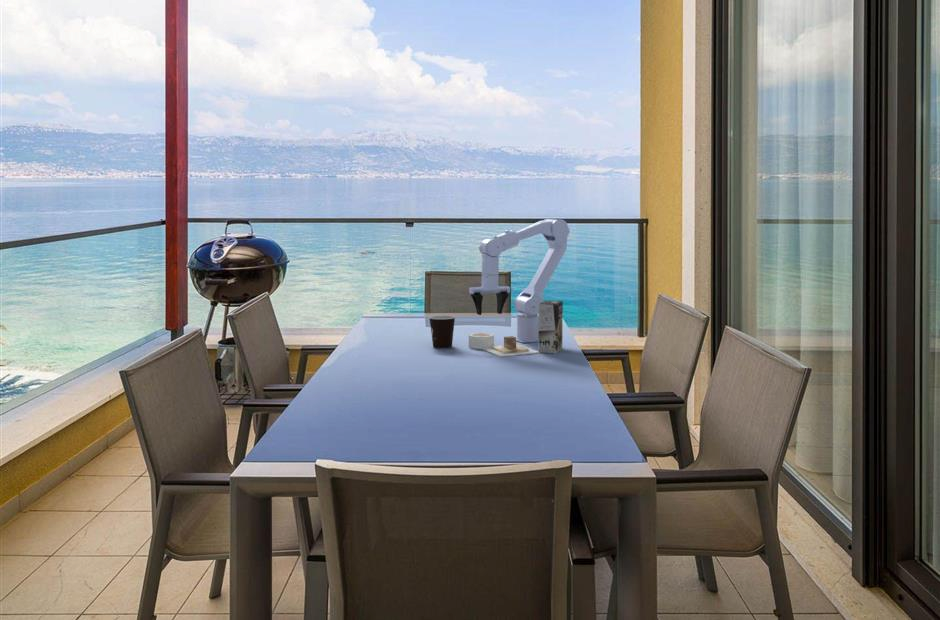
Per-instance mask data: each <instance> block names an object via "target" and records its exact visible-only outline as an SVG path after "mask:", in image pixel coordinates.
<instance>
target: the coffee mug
mask: <svg viewBox="0 0 940 620" xmlns="http://www.w3.org/2000/svg"><path fill="white" fill-rule="evenodd" d="M428 317H429V324H430V325H429V326H430V334H431V340H432V341H431V342H432V347H433V348H434V349H449V348H452V347H453V341H454V340H453V339H454V329H455V321H456V320H455V319H456V317H455V316H453V315H441V314H440V315H432V316H428Z"/></svg>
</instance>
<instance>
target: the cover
mask: <svg viewBox="0 0 940 620" xmlns="http://www.w3.org/2000/svg"><path fill="white" fill-rule="evenodd" d="M516 338H517V336H513V335H510V336H503V345H494V346H493V347H492V349H493V350H496V351H498V352H501V353H503V354H507V353H517V352H528V351H529V349H530V348H529V349H527V348H528V347H527V348H525V347H526V346H524V347H522V346H523V345H521V346H519V345H520V344H517V341H516Z"/></svg>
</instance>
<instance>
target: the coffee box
mask: <svg viewBox="0 0 940 620" xmlns="http://www.w3.org/2000/svg"><path fill="white" fill-rule="evenodd" d="M563 306H564V302H563V300H543V301H542V303H540V304H539V313H538V315H539V339H538V341H537V342H538V343H537V344H538V346H537V347H538V349H537V352H539V353H543V354H558V352H560V351H561V350H563V318H564V317H563V316H564V315H563V314H564V313H563V311H564V309H563V308H564V307H563Z"/></svg>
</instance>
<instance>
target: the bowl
mask: <svg viewBox="0 0 940 620" xmlns="http://www.w3.org/2000/svg"><path fill="white" fill-rule="evenodd" d="M493 346H495V334H493V333H490V332H473V333H469V334H468V347H469V348H471V349H477V350H482V348H492V347H493Z"/></svg>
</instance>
